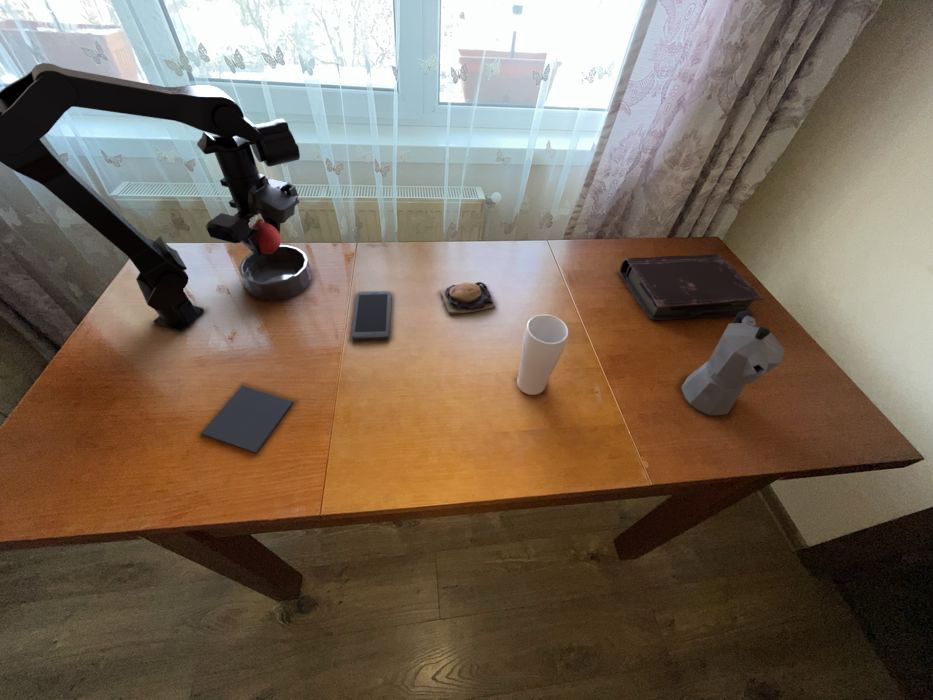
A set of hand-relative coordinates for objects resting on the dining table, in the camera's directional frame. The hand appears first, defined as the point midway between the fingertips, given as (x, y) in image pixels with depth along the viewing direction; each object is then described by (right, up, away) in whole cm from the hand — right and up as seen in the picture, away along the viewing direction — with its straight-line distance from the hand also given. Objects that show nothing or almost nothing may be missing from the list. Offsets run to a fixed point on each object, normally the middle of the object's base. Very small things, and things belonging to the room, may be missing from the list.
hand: (267, 247), depth 83 cm
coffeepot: (+86, -29, -7) cm, 91 cm away
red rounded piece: (0, -1, +1) cm, 2 cm away
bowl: (-1, -6, +7) cm, 9 cm away
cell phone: (+21, -14, +1) cm, 26 cm away
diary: (+92, -8, +13) cm, 93 cm away
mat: (+5, -32, -16) cm, 37 cm away
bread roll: (+41, -10, +6) cm, 43 cm away
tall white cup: (+53, -28, -8) cm, 60 cm away
